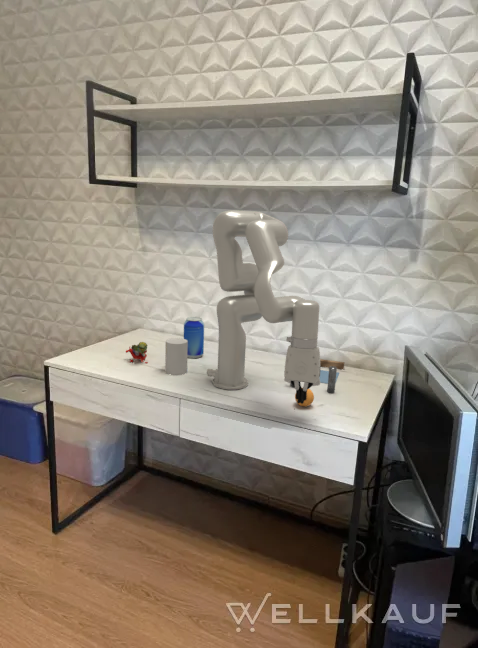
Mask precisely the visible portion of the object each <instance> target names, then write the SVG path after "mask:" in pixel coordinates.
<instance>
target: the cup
mask: <svg viewBox="0 0 478 648" xmlns="http://www.w3.org/2000/svg"><path fill="white" fill-rule="evenodd" d="M187 350H188V341H187V340H186V339H184V338H180V337H171V338H168V339H166V340H165V355H164V356H165V363H164V364H165V366H164V367H165V368H164V370H165V371H164V372H165V373H166V374H168V375H169V374H171V375H170V376H183V375H185V373H186V374H187V373H188V358H187ZM182 374H183V375H182Z"/></svg>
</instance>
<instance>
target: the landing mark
mask: <svg viewBox="0 0 478 648" xmlns="http://www.w3.org/2000/svg"><path fill="white" fill-rule="evenodd" d="M328 375H329V370H322V369H320V377H319V378H320V384H326V385H328ZM339 375H340V372H338V371H337V372H336V382H337V380H338V378H339Z"/></svg>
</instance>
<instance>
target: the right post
mask: <svg viewBox="0 0 478 648" xmlns="http://www.w3.org/2000/svg"><path fill="white" fill-rule="evenodd" d="M337 370H338V369H337V367H334V366H330V367H329V368H328V371H329V375H328V384H327V387H326V389H327V390H326V392H327V393H328V394H335V391H336V383H337V381H336V372H338V371H337Z"/></svg>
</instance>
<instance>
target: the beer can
mask: <svg viewBox="0 0 478 648" xmlns="http://www.w3.org/2000/svg"><path fill="white" fill-rule="evenodd" d="M183 339H186V340H187V341H188V350H187V357H188V358H187V359H199V358H202V357H203V356H204V354H205V353H204V348H205V347H204V346H205V343H204V342H205V323H204V321H203V318H202V317H200V316H199V317H197V316H189V317H186V318H185V321H184V322H183Z"/></svg>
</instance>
